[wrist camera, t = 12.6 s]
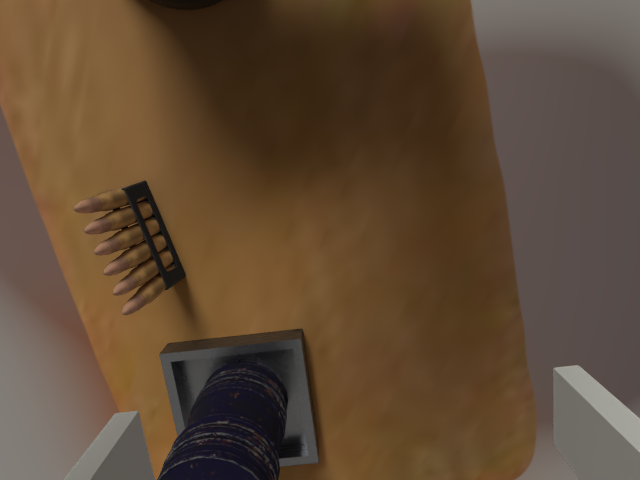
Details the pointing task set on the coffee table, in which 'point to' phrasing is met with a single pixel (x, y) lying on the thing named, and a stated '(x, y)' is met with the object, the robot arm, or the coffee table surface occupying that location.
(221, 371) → the storage jar
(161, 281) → the ammunition clip
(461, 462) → the coffee table surface
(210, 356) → the cradle tray
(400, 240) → the coffee table surface
